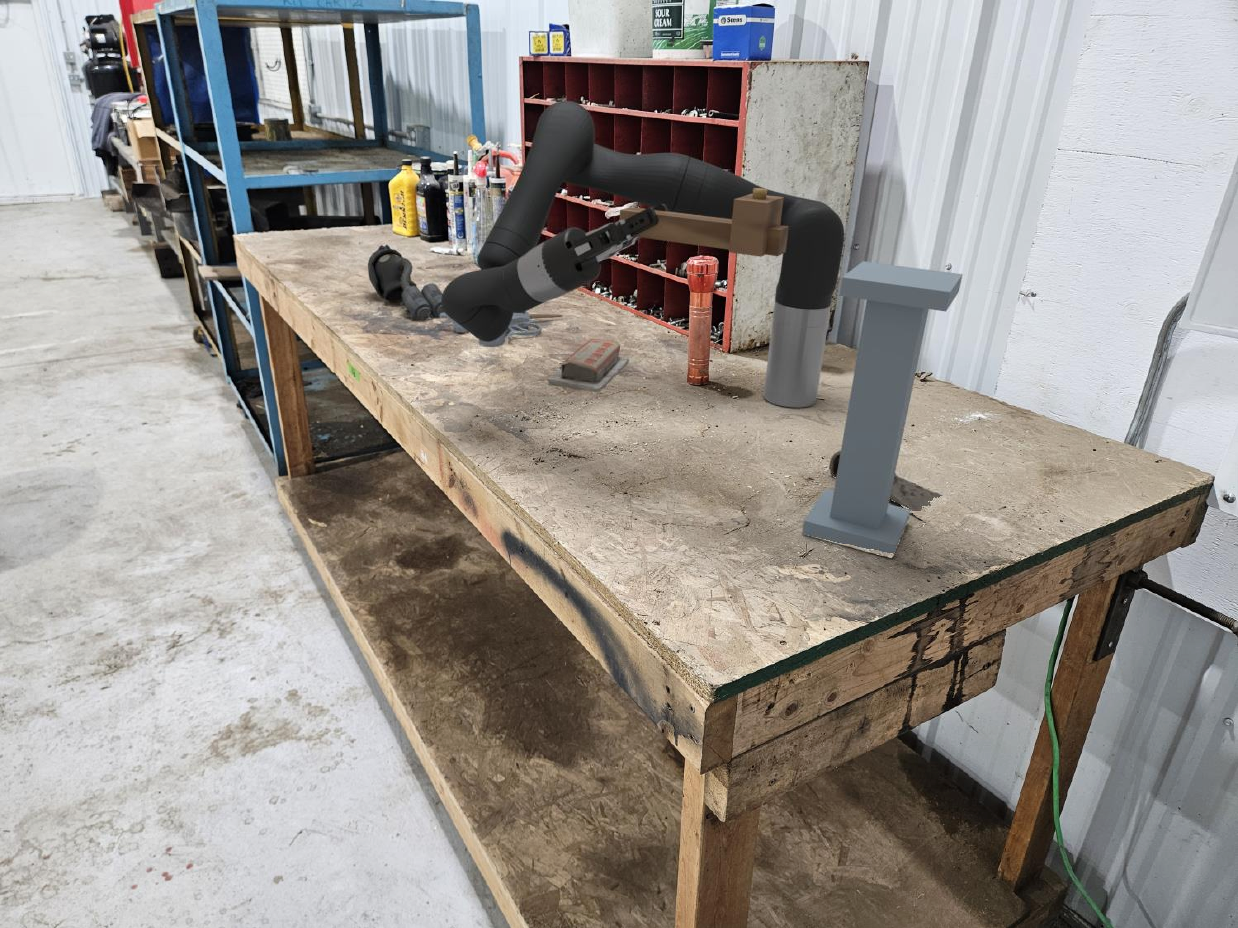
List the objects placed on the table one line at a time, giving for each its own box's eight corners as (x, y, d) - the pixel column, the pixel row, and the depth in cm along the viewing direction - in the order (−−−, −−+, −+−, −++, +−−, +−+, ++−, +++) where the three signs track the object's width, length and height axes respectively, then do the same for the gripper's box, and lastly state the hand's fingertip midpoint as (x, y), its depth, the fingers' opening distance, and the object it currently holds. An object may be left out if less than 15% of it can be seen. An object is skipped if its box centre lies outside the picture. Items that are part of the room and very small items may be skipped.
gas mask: (407, 354, 184) (359, 281, 195) (443, 348, 190) (394, 276, 200) (417, 304, 174) (365, 229, 184) (454, 298, 179) (402, 225, 190)
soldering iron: (461, 355, 161) (437, 326, 173) (585, 349, 174) (555, 323, 186) (463, 327, 158) (438, 300, 170) (589, 324, 172) (558, 299, 183)
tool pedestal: (823, 501, 108) (863, 261, 94) (907, 523, 104) (962, 274, 90) (802, 534, 100) (842, 277, 86) (892, 559, 96) (950, 292, 82)
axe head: (997, 504, 106) (958, 527, 100) (982, 534, 109) (944, 558, 103) (869, 431, 118) (828, 447, 112) (859, 460, 121) (818, 477, 115)
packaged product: (581, 334, 158) (630, 340, 156) (581, 357, 160) (629, 364, 158) (547, 361, 143) (600, 369, 140) (547, 387, 145) (599, 395, 142)
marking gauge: (635, 229, 106) (637, 173, 103) (789, 250, 98) (797, 189, 95) (613, 236, 101) (615, 177, 98) (773, 258, 93) (781, 195, 90)
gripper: (517, 248, 104) (622, 190, 94) (573, 232, 115) (672, 179, 105) (542, 302, 105) (648, 250, 96) (595, 281, 117) (695, 233, 107)
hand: (660, 213), depth 101 cm, fingers closed on marking gauge, 3 cm apart
